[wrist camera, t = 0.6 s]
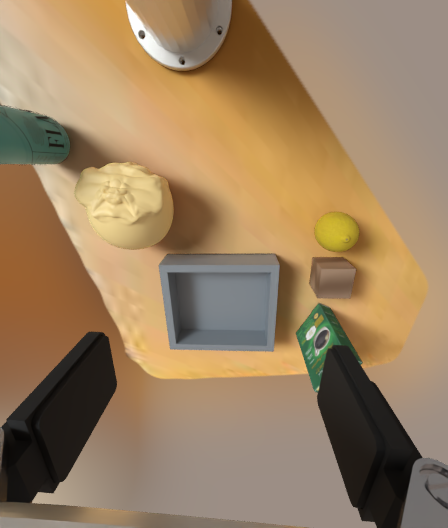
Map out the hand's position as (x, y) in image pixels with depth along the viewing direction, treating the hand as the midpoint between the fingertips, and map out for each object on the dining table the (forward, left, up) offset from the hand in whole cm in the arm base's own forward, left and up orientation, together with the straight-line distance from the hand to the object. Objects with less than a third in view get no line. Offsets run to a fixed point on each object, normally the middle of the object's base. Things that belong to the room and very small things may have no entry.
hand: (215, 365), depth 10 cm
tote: (+15, -2, -31) cm, 34 cm away
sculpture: (-2, -14, -31) cm, 34 cm away
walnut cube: (+10, +16, -31) cm, 36 cm away
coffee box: (+20, +15, -31) cm, 40 cm away
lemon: (+2, +15, -31) cm, 35 cm away
